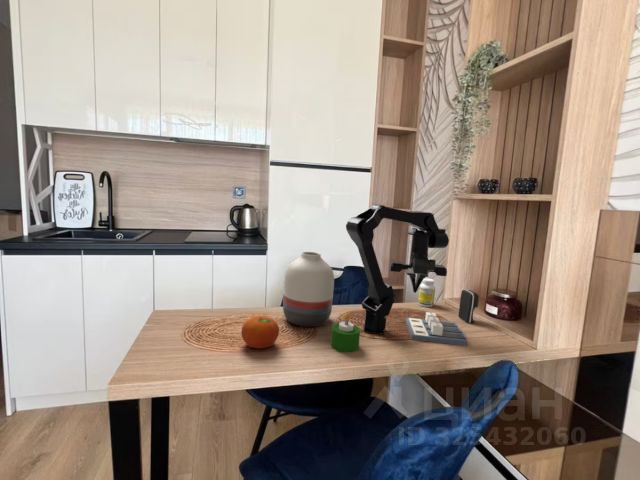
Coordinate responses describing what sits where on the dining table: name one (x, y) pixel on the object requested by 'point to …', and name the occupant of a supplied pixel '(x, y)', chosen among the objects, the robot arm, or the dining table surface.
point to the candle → (345, 336)
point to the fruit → (260, 332)
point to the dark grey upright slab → (468, 305)
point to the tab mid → (432, 319)
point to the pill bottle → (426, 293)
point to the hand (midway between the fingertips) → (414, 292)
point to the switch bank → (422, 332)
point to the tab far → (429, 314)
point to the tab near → (436, 328)
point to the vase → (308, 290)
